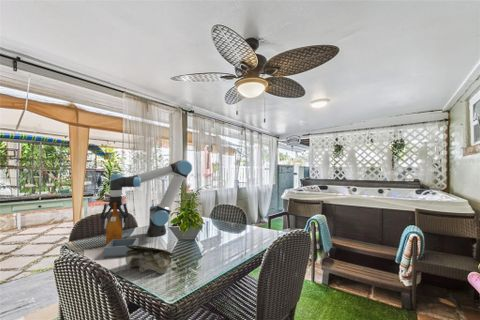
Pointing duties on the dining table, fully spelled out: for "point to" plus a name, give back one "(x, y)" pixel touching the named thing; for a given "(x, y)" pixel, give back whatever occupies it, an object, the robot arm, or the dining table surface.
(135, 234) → the dining table surface
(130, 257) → the hollow geode rock
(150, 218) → the robot arm
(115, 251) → the crate
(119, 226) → the wine bottle
